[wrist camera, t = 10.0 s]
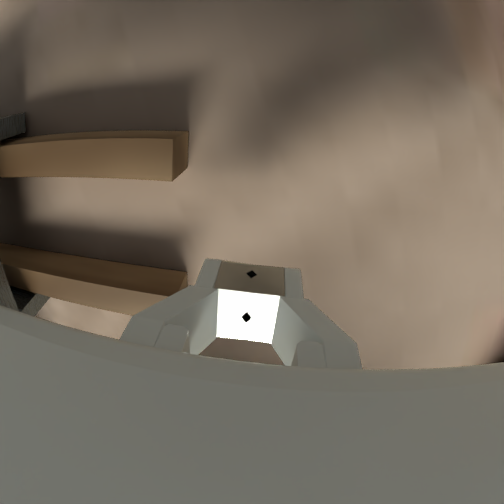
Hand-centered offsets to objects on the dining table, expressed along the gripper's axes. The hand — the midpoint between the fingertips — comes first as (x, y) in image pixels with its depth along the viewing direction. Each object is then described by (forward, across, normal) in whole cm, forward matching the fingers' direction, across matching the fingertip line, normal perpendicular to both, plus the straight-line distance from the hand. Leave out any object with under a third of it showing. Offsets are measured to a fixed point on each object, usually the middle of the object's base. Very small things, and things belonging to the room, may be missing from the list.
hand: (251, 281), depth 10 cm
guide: (+4, +17, 0) cm, 17 cm away
